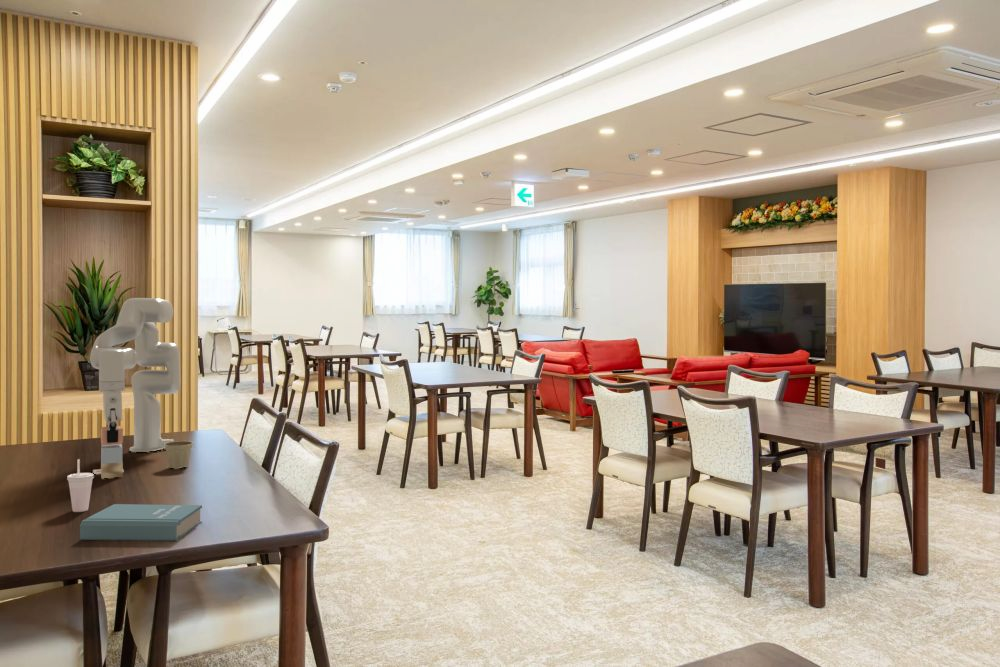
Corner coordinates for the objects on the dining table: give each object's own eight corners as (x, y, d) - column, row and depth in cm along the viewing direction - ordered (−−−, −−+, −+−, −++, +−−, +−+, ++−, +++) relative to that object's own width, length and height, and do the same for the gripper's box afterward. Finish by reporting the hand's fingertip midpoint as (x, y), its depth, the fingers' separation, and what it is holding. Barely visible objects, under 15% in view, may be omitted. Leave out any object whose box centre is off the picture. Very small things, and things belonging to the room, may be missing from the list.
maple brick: (121, 473, 246) (121, 459, 246) (122, 477, 241) (122, 462, 241) (100, 475, 243) (101, 460, 243) (101, 479, 238) (101, 463, 238)
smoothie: (76, 506, 204) (76, 456, 204) (98, 507, 204) (98, 457, 203) (61, 513, 198) (61, 461, 197) (84, 513, 197) (85, 461, 197)
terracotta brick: (121, 440, 246) (121, 425, 246) (122, 443, 241) (122, 428, 241) (100, 442, 243) (100, 427, 243) (102, 445, 238) (102, 429, 238)
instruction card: (122, 468, 254) (122, 466, 254) (123, 472, 249) (124, 470, 248) (92, 470, 250) (92, 469, 250) (93, 474, 244) (93, 473, 244)
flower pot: (168, 471, 250) (168, 446, 250) (160, 467, 257) (160, 442, 257) (196, 468, 256) (196, 443, 256) (187, 463, 264) (187, 440, 263)
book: (201, 524, 191) (201, 505, 191) (175, 543, 175) (175, 522, 175) (114, 523, 190) (114, 504, 190) (79, 542, 174) (79, 521, 174)
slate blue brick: (121, 459, 246) (121, 444, 246) (122, 462, 241) (122, 447, 241) (101, 460, 243) (101, 445, 243) (101, 463, 238) (101, 448, 238)
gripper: (126, 388, 236) (126, 444, 237) (122, 383, 251) (122, 436, 251) (100, 389, 232) (100, 446, 233) (97, 384, 247) (97, 437, 247)
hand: (111, 440), depth 242 cm, fingers closed on terracotta brick, 6 cm apart
